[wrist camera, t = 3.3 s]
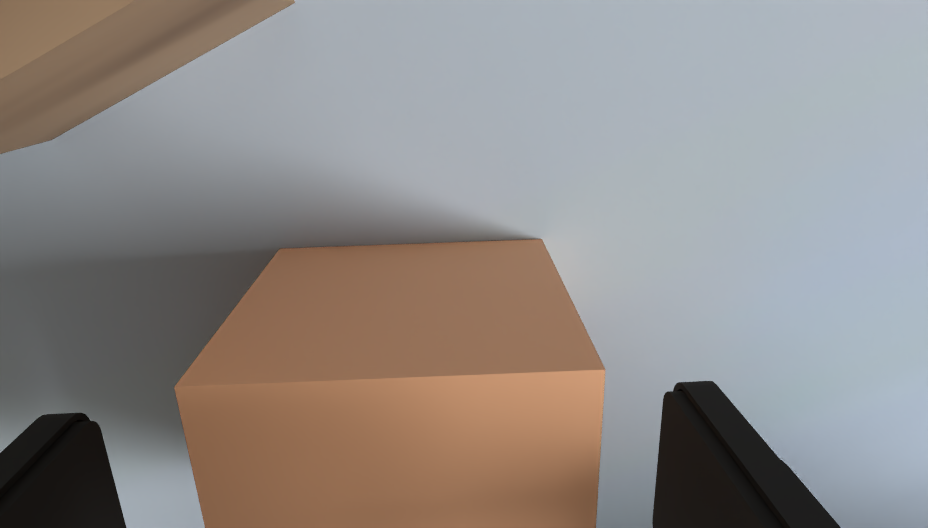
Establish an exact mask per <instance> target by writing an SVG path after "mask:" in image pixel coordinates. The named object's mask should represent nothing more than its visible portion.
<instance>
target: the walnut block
mask: <svg viewBox="0 0 928 528" xmlns="http://www.w3.org/2000/svg"><path fill="white" fill-rule="evenodd" d="M293 3H295V1H294V0H0V154H2V153H5V152H9V151H13V150H16V149H20V148H24V147H27V146H31V145H35V144H38V143H42V142H46V141H49V140H52V139H54V138H56V137H58V136H59V135H61V134H63V133H65V132H67V131H68V130H70V129H72V128H74V127H75V126H77V125H79V124H81V123H83V122H84V121H86V120H88V119H90V118H91V117H93V116H95V115H97V114H98V113H100V112H102V111H104V110H106V109H107V108H109V107H111V106H113V105H114V104H116V103H118V102H120V101H122V100H123V99H125V98H127V97H129V96H130V95H132V94H134V93H136V92H137V91H139V90H141V89H143V88H145V87H146V86H148V85H150V84H152V83H153V82H155V81H157V80H159V79H160V78H162V77H164V76H166V75H168V74H169V73H171V72H173V71H175V70H176V69H178V68H180V67H182V66H184V65H185V64H187V63H189V62H191V61H192V60H194V59H196V58H198V57H199V56H201V55H203V54H205V53H207V52H208V51H210V50H212V49H214V48H215V47H217V46H219V45H221V44H223V43H224V42H226V41H228V40H230V39H231V38H233V37H235V36H237V35H238V34H240V33H242V32H244V31H246V30H247V29H249V28H251V27H253V26H254V25H256V24H258V23H260V22H262V21H263V20H265V19H267V18H269V17H270V16H272V15H274V14H276V13H277V12H279V11H281V10H283V9H285V8H286V7H288V6H290V5H292V4H293Z"/></svg>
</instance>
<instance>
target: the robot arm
mask: <svg viewBox="0 0 928 528" xmlns="http://www.w3.org/2000/svg"><path fill="white" fill-rule="evenodd" d="M0 528H126V525H125V521H124V517H123V513H122V510H121V506H120V502H119V498H118V494H117V490H116V486H115V483H114V479H113V475H112V471H111V467H110V463H109V459H108V456H107V452H106V448H105V444H104V440H103V436H102V433H101V429H100V427H99V425H98V424H97V422H94V421H90V420H89V418H88V417H87V416H86V414H83V413H65V414H47V415H42V416H41V417H39V418H38V419H36V420H35V421H34V422H33V423H32V424H31V425H30V426H29V427H28V428H27V429H26V430H25V431H24V432H22V433H21V434H20V435H19V436H18V437H17V438H16V439H15V440H14V441H13V442H12V443H11V444H10V445H8V446H7V447H6V448H5V449H4V450H3V451H2V452H1V453H0ZM653 528H841V527H840V526H839V525H838V524H837V523H836V522H835V520H834V519H833V518H832V517H831V516H830V515H829V513H828V512H827V511H826V510H825V509H824V508H823V506H822V505H821V504H820V503H819V502H818V500H817V499H816V498H815V497H814V496H813V495H812V493H811V492H810V491H809V490H808V489H807V488H806V486H805V485H804V484H803V483H802V482H801V481H800V479H799V478H798V477H797V476H796V475H795V474H794V472H793V471H792V470H791V469H790V468H789V467H788V466H787V465H786V464H785V463H784V462H783V461H782V460H780V459H779V458H778V457H777V455H776V454H775V453H774V452H773V451H772V450H771V448H770V447H769V446H768V445H767V444H766V442H765V441H764V440H763V439H762V438H761V437H760V435H759V434H758V433H757V432H756V431H755V430H754V428H753V427H752V426H751V425H750V424H749V422H748V421H747V420H746V419H745V418H744V417H743V415H742V414H741V413H740V412H739V411H738V410H737V408H736V407H735V406H734V405H733V404H732V402H731V401H730V400H729V399H728V398H727V397H726V395H725V394H724V393H723V392H722V391H721V390H720V388H719V387H718V386H717V385H716V384H715V383H714V382H713V381H699V382H679V383H677V384H676V385H675V387H674V390H673V392H666V393H665V395H664V399H663V409H662V420H661V431H660V443H659V454H658V465H657V476H656V488H655V499H654V510H653Z"/></svg>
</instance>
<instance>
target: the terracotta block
mask: <svg viewBox="0 0 928 528" xmlns="http://www.w3.org/2000/svg"><path fill="white" fill-rule="evenodd" d="M604 384H605V368H604V366H603V364H602V362H601V360H600V358H599V355H598V353H597V351H596V349H595V347H594V345H593V343H592V341H591V339H590V337H589V335H588V333H587V331H586V329H585V327H584V325H583V323H582V321H581V319H580V316H579V314H578V312H577V310H576V308H575V306H574V304H573V302H572V300H571V298H570V296H569V294H568V292H567V290H566V288H565V286H564V284H563V282H562V279H561V277H560V275H559V273H558V271H557V269H556V267H555V265H554V263H553V261H552V259H551V257H550V255H549V253H548V251H547V249H546V247H545V245H544V243H543V240H542V239H530V240H502V241H474V242H447V243H419V244H392V245H364V246H336V247H309V248H281V249H279V250H278V251H277V253H276V254H275V255H274V257H273V258H272V259H271V261H270V262H269V263H268V265H267V266H266V267H265V268H264V270H263V271H262V272H261V274H260V275H259V276H258V278H257V279H256V280H255V282H254V283H253V284H252V286H251V287H250V288H249V289H248V291H247V292H246V293H245V295H244V296H243V297H242V299H241V300H240V301H239V303H238V304H237V305H236V307H235V308H234V309H233V310H232V312H231V313H230V314H229V316H228V317H227V318H226V320H225V321H224V322H223V324H222V325H221V326H220V327H219V329H218V330H217V331H216V333H215V334H214V335H213V337H212V338H211V339H210V341H209V342H208V343H207V345H206V346H205V347H204V348H203V350H202V351H201V352H200V354H199V355H198V356H197V358H196V359H195V360H194V362H193V363H192V364H191V366H190V367H189V368H188V369H187V371H186V372H185V373H184V375H183V376H182V377H181V379H180V380H179V381H178V383H177V384H176V385H175V387H174V389H175V393H176V398H177V402H178V407H179V411H180V416H181V420H182V425H183V430H184V434H185V439H186V443H187V448H188V452H189V457H190V461H191V466H192V470H193V475H194V479H195V484H196V489H197V493H198V498H199V502H200V507H201V511H202V516H203V520H204V525H205V528H596V515H597V499H598V482H599V466H600V449H601V433H602V416H603V400H604Z"/></svg>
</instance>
